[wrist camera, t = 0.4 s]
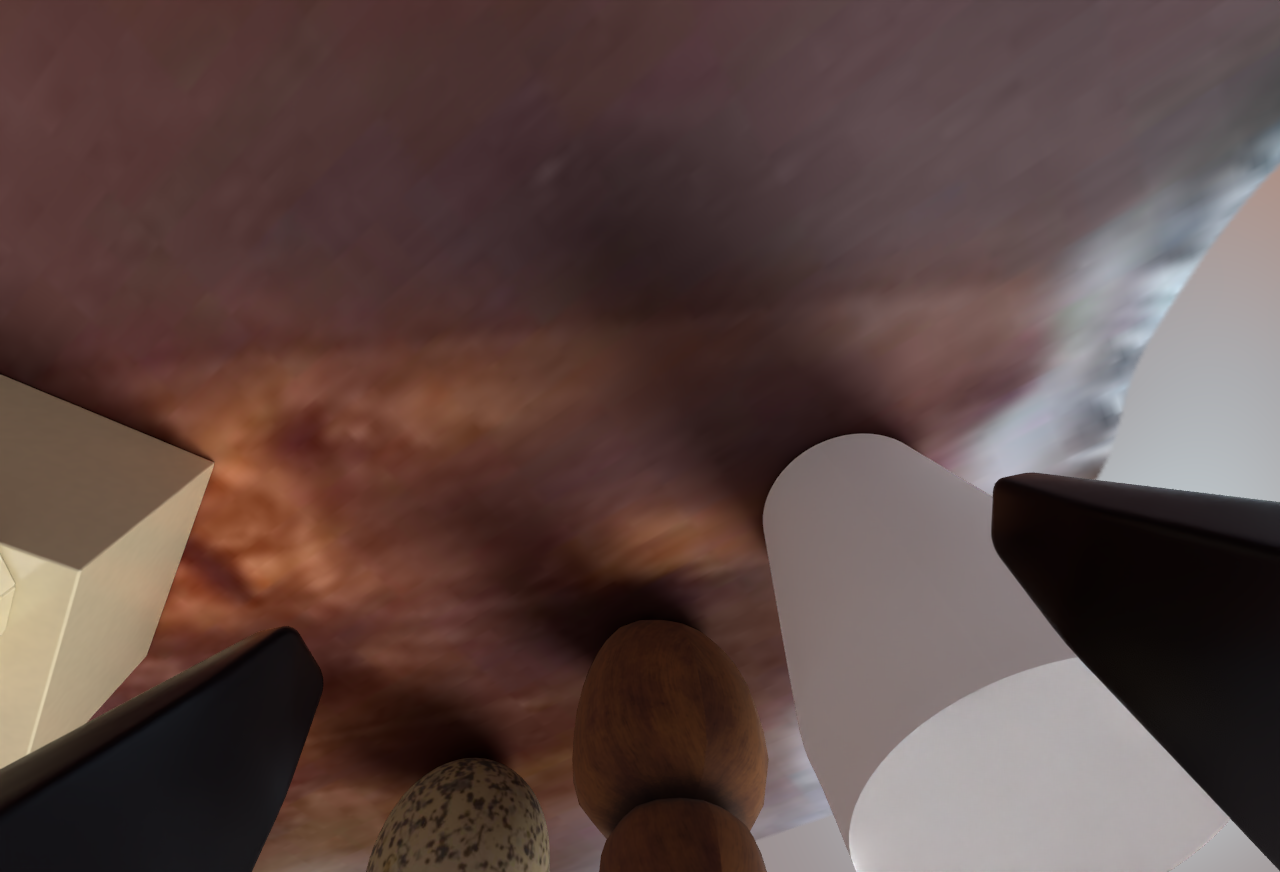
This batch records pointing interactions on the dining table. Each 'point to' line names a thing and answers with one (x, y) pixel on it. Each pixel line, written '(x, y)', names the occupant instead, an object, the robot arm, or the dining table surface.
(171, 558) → the button base
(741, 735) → the wooden figurine
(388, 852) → the decorative egg
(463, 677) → the dining table surface
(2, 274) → the dining table surface
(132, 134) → the dining table surface
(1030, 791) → the cup
